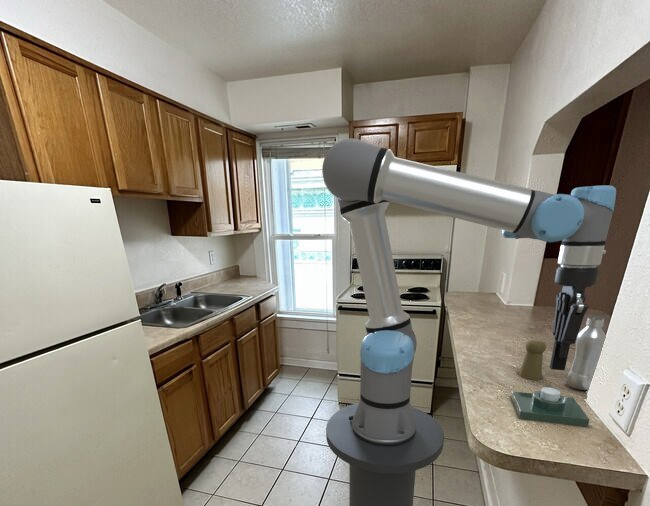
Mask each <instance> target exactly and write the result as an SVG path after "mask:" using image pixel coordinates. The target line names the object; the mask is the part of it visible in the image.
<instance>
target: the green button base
mask: <svg viewBox="0 0 650 506" xmlns="http://www.w3.org/2000/svg"><path fill="white" fill-rule="evenodd" d="M540 393H541V390H536V391H534V392H533V393H531V392H522V391H512V392H511V401H512V404H513V407H514V408H515V412H516V414H517V416H518V419H519V420H520V419H521V420H527V421H534V422H544V423H552V424H561V425H569V426H576V427H586V428H588V427H589V423H590V417H588V415H587V414H586V412H585V411H584V410H583V408H582V407H581V405H579V403H578V402H577V401H576V400H577V399H575V398H574V397H571V396H564V395H562V394H560V398H559V401H556V402H554V401H548V400H544V399H542V398H540Z"/></svg>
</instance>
